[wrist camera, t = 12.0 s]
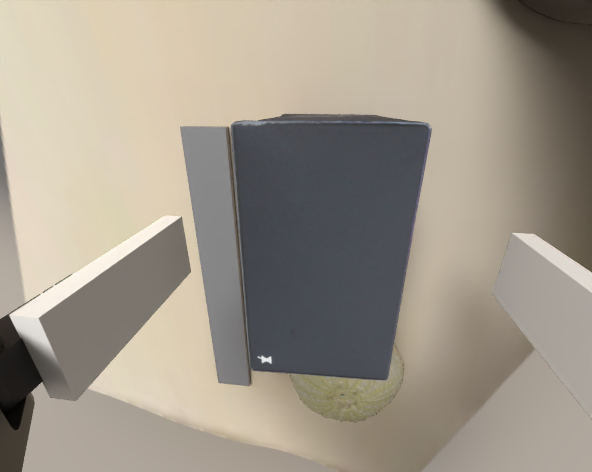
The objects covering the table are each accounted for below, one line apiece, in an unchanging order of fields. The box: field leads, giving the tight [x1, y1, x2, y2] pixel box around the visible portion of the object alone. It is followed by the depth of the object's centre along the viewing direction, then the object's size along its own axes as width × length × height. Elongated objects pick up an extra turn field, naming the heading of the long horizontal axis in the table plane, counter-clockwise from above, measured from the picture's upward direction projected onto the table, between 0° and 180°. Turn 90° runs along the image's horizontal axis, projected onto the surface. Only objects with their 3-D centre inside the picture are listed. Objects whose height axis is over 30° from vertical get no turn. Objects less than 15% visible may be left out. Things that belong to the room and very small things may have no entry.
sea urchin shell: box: [290, 343, 404, 422], centre depth 24 cm, size 9×8×8 cm
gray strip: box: [180, 126, 251, 386], centre depth 23 cm, size 3×23×1 cm, turn 0°
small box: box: [231, 114, 432, 381], centre depth 15 cm, size 11×6×10 cm, turn 0°
